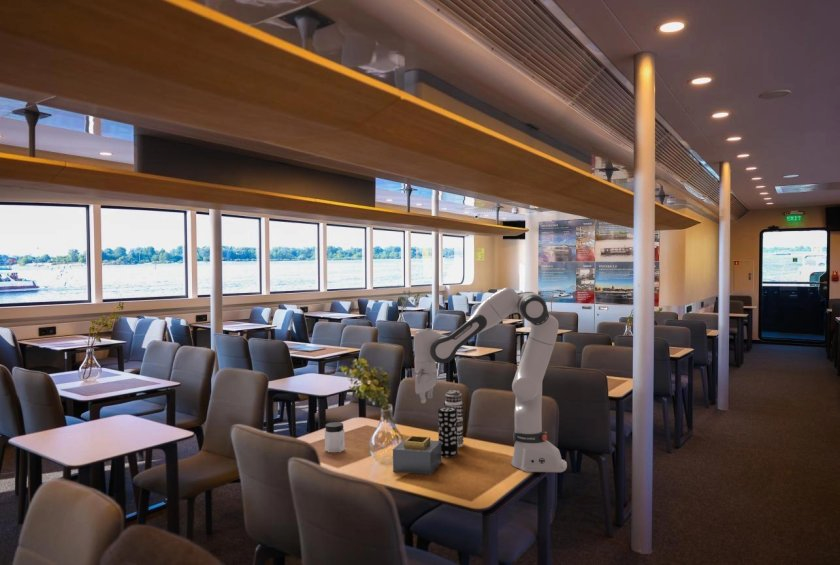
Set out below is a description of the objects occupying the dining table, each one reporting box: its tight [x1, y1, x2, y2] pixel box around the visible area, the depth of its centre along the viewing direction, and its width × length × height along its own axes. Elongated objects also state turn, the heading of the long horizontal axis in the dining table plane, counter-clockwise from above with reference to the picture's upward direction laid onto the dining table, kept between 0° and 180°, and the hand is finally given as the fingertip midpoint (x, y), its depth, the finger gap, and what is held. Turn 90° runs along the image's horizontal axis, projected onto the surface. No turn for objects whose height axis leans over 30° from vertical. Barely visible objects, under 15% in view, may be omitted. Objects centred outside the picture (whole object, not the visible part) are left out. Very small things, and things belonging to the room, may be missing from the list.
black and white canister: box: [443, 389, 465, 448], centre depth 271 cm, size 9×9×25 cm
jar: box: [324, 421, 346, 453], centre depth 266 cm, size 9×8×12 cm
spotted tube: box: [437, 406, 459, 458], centre depth 256 cm, size 8×8×20 cm
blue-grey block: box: [392, 435, 443, 476], centre depth 241 cm, size 16×16×12 cm
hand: (427, 400), depth 242 cm, fingers open, 8 cm apart
